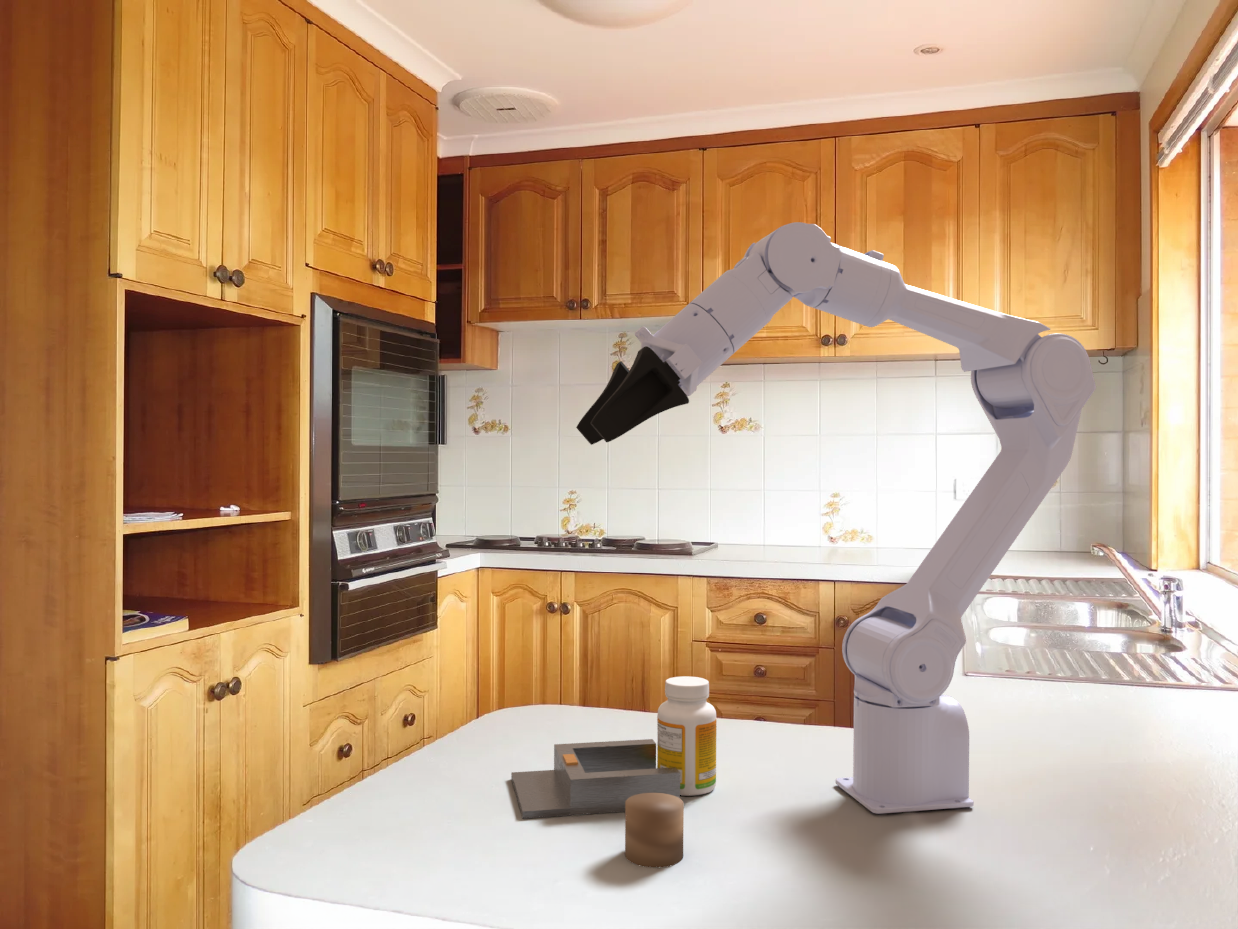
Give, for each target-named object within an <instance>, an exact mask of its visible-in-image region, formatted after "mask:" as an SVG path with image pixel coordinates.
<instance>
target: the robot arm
mask: <svg viewBox="0 0 1238 929" xmlns="http://www.w3.org/2000/svg"><path fill="white" fill-rule="evenodd" d="M831 240H832V238H831V236H829V235H827V234H826V233H825V231H824V230H823V229H822V228H821V227H820V226H818V225H817V224H816V223H807V222H806V223H805V222H799V221H798V222H791V223H787V224H784V225H781V226H780V227H778V228H776V229H775V230H774V231H772V232H771V233H769V234H768V235H766V236H764V237H762V238H761V239H760V240H759V241H756V242H752V243H751V245H750V246H749V247H748V248H747V249H746V251H745V253H744V256H743V257H742V258H741V259H740V260H739V261H738V262H736V264H735V265H734V267H733V268H732V269H727V270H726V271H725V272H723V273H722V274H721V275H720V276H719V277H717V279H715V280H714V281H713V282H712V283H711V284H710V285H708V286H707V287H706V288H705V289H704V290H703V291H702V292H700V293H699V294H698V295H697V296H696V297H695V298H693V299H692V300H691V301H690V302H688V304H687V305H686V306H684V307H683V308H682V309H681V310H680V311H678V312H677V313H676V314H675V315H674V316H673V317H671V319H669V321H667V322H666V323H665V324H664V325H663V326H661V327H660V328H659V329H658V330H657V331H656V332H655V333H654V334H652V333H651V331H649V329H648V328H647V327H645V325H644V326H640V327H639V328H638V329H637V330H636V331H635V332H634V335H635V337H636V339H637V340H638V341H639V342H640V344H641V345H640V349H639V350H638V351H637V354H636V356H635V358H634V360H633V363H632V365H631V367H630V368H628V367H627V366H626V365H625V364H624V362H623V361H622V360H621V361H619V362H617V363H616V364H615V367H614V369H613V372H612V374H611V376H610V379H609V381H608V383H607V384H606V386H605V388H604V390H603V391H602V392H601V394H600V395H599V396H598V397H597V399H596V401H594V403H593V404H592V405H591V407H590V408H589V409H588V410H587V411H586V412H585V414H584V415H583V416H582V418H581V419H580V420H579V422H578V424H577V425H576V427H575V428H576V429H577V431H578V432H579V433H580V434H581V435H582V436H583V437H584V439H585V440H586V441H587V442H588V444H590V445H591V446H592V445H594V444H596V443H599V442H601V441H605V443H610V442H612V441H614V440H615V439H617V438H619V437H622V436H623V435H625V434H626V433H628V432H630V431H631V430H633V429H634V428H636V427H637V426H639V425H640V424H642V423H644V422H646V421H647V420H648V419H652V418H653V417H654V416H656V415H659V414H660V413H664V412H665V411H667V410H670V409H673V408H675V407H680V406H683V405H688V404H689V403H690V398H689V397H690V396H691V395H692V394H694V393H695V392H696V391H697V388H698V386H699V385H701V383H703V382H704V380H706V379H707V378H709V377H710V375H712V374H713V373H714V372H715V371H716V370H717V369H718V368H719V367H721V366H722V365H723V364H724V363H725V362H727V360H728V359H729V358H730V357H732V356H733V355H734V354H735V353H736V352H737V351H738V350H740V349H741V347H743V346H744V345H745V344H747V343H748V341H749V340H751V339H752V338H753V337H754V336H755V335H756V334H758V333H759V332H760V331H761V330H762V329H764V327H766V325H768V324H769V323H770V322H771V321H772V319H773V317H774V316H775V315H776V313H778V312H779V311H781V309H782V308H783V307H785V305H787V304H788V303H789V302H790V301H791V300H792V299H793V298H795V299H796V300H798V301H799V302H801V303H802V304H803V305H805V306H807V307H809V308H812V309H816V310H819V311H821V312H825V313H827V314H830V315H833V316H835V317H838V318H841V319H844V320H848V321H850V322H853V323H856V324H857V325H863V326H865V327H868V328H875V327H877V326H879V325H881V324H883V323H885V322H886V321H887V320H890V321H892V322H894V323H896V324H900V325H901V326H904V327H906V328H909V329H911V330H914V331H916V332H917V333H918V332H919V333H921V334H924V335H926V336H928V337H931V338H933V339H936V340H938V341H940V342H942V343H945V344H948V345H949V346H950V345H951V346H952V347H955V348H957V349H958V352H959V361H960V367H961V370H962V371H963V372H964V373H965V372H970V384H971V387H972V391H973V393H974V395H975V398H976V399H977V401H978V403H979V405H980V406H981V409H982V410H983V412H984V413H985V416H986V417H987V419H988V421H989V423H990V425H991V426H992V429H993V431H994V432H995V434H996V436H997V438H998V440H999V444H1000V447H1001V449H1000V452H999V453H998V455H997V456H996V457H995V458H994V460H993V461H992V463H991V465H990V466H989V467H988V469H987V470H986V471H985V472H984V474H983V476H982V477H981V479H980V480H979V482H977V484H976V485H975V487H974V489H973V490H972V491H971V493H969V495H968V497H967V498H966V499H965V501H964V503H963V504H962V505H961V507H960V508H959V510H958V511H957V513H955V515H954V517H953V518H952V519H951V521H950V522H949V524H948V525H947V527H946V528H945V530H943V532H942V533H941V535H940V537H939V538H938V539H937V540H936V541H935V543H934V545H933V546H932V548H931V549H930V550H929V552H928V553H927V555H926V556H925V558H923V560H922V562H921V563H920V565H919V566H918V567H917V569H916V570H915V572H914V573H913V574H912V576H911V577H910V579H909V580H908V581H907V583H906V584H904V585H902V586H900V587H898V588H897V589H895V590H892V591H891V592H889V593H888V594H886V595H884V596H883V597H881V598H880V599H879V601H878V602H877V604H876V605H875V606H874V608H873V609H871V610H870V611H869V612H868V613H866V614H863V615H862V616H860V617H858V618H857V619H855V620H854V621H853V622H852V623H851V624H850V625H849V627H847V629H846V631H845V633H844V636H843V639H842V644H841V649H842V650H841V652H842V659H843V661H844V663H845V666H846V667H847V668H848V670H849V671H850V672H851V673H852V674H853V676H854V687H853V755H852V756H853V757H852V758H853V759H852V761H853V762H852V765H853V766H852V770H853V771H852V772H853V773H852V776H849V777H848V776H847V777H846V776H845V777H838V778H835V780H834V781H835V784H836V786H838V787H839V788H840V789H842V790H843V791H844V792H845V793H847V794H848V795H849V796H851V797H852V798H853V799H855V800H856V801H857V802H859V804H861V805H862V806H863V807H865V808H866V809H867V810H868V811H870V812H871V813H873V814H877V815H878V814H880V815H881V814H892V813H894V814H895V813H902V812H903V813H906V812H919V811H931V810H932V811H933V810H943V809H944V810H946V809H961V808H971V807H974V800H973V799H971V798H970V792H969V790H970V729H969V724H968V723H969V722H968V718H967V715H966V713H965V710H964V708H963V706H962V705H961V703H960V702H959V701H958V700H957V699H955V698H954V697H953V696H951V695H947V694H944V693H945V692H946V691H947V689H948V688H949V686H950V684H951V682H952V680H953V677H954V671H955V666H956V662H957V659H958V657H959V655H960V653H961V651H962V649H963V648H964V647H965V645H966V643H967V639H966V638H967V637H966V634H965V629H964V626H963V622H962V617H963V615H964V614H965V612H967V609H969V607H970V606H971V604H972V602H973V601H974V600H975V599H976V597H977V595H978V594H979V593H980V591H981V590H982V588H983V587H984V586H985V584H986V582H987V581H988V579H989V578H990V577H991V576H992V574H993V573H994V571H995V570H996V569H997V567H998V565H999V564H1000V562H1001V561H1002V560H1003V558H1004V557H1005V555H1006V554H1007V552H1008V551H1009V549H1010V548H1011V546H1012V545H1013V543H1014V542H1015V541H1016V540H1017V539H1018V536H1019V535H1020V534H1021V532H1022V531H1023V529H1024V528H1025V526H1026V525H1027V523H1028V522H1029V521H1030V519H1031V518H1032V517H1033V515H1034V514H1035V512H1036V511H1037V509H1038V507H1039V506H1040V505H1041V504H1042V502H1043V500H1044V499H1045V497H1046V496H1047V495H1048V493H1049V492H1050V491H1051V490H1052V488H1053V486H1054V485H1055V483H1056V482H1057V481H1058V479H1059V478H1060V476H1061V474H1063V472H1064V471H1065V469H1066V468H1067V466H1068V464H1069V463H1070V462H1071V461H1070V460H1071V458H1072V454H1073V451H1074V446H1075V442H1076V436H1077V432H1078V427H1079V423H1080V418H1081V413H1082V410H1083V408H1084V407H1085V406H1086V404H1087V402H1088V401H1089V399H1090V398H1091V397H1092V395H1093V394H1094V392H1095V391H1096V390H1097V385H1096V380H1095V377H1094V373H1093V368H1092V364H1091V360H1090V356H1089V354H1088V352H1087V350H1086V348H1085V347H1084V345H1083V344H1082V343H1081V342H1080V341H1079V340H1078V339H1076V338H1075V337H1073V336H1071V335H1068V334H1065V333H1062V332H1061V333H1058V332H1057V333H1050V334H1046V335H1044V336H1041V335H1040V333H1042V332H1045V331H1049V330H1051V328H1050V327H1048V326H1047V325H1046V324H1043V323H1042V322H1039V321H1036V320H1031V319H1026V318H1023V317H1018V316H1014V315H1011V314H1007V313H1003V312H999V311H996V310H993V309H989V308H985V307H983V306H979V305H975V304H972V303H968V302H966V301H962V300H958V299H956V298H952V297H948V296H946V295H943V294H939V293H936V292H932V291H929V290H925V289H922V288H919V287H916V286H912V285H908V284H906V283H905V281H904V278H903V277H902V274H901V272H900V270H899V268H898V267H897V266H896V265H894V264H891V263H889V262H886V261H884V256H885V255H884V253H882V252H879V251H876V250H873V249H871V250H869V251H867V252H865V253H862V252H858V251H856V250H853V249H850V248H848V247H846V246H845V247H844V246H841V245H839V244H837V243H834V242H831Z"/></svg>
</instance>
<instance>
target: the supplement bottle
mask: <svg viewBox="0 0 1238 929" xmlns="http://www.w3.org/2000/svg"><path fill="white" fill-rule="evenodd" d="M664 693H665V697H666V698H667V700H665V701H664V702H662V703H661V704H660V705H659V707H658V709H657V717H656V718H657V719H656V720H657V721H656V722H657V726H656V727H657V742H656V768H672V767H676V768H677V770H678V771H679V772H680V795H681V796H680V797H684V796H685V797H691V796H692V797H693V796H701V795H705V794H708V793H711V792H712V791H714V790H715V788H716V785H717V711H716V708H715V707H714V706H713V705H712V704H711V703H709V702H707V699H708V698H709V697H710V682H709V680H708V679H707V678H706V679H705V678H703V677H698V676H688V675H687V676H685V675H683V676H674V677H669V678H667V679H666V680H665V686H664Z"/></svg>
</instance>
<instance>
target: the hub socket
mask: <svg viewBox="0 0 1238 929" xmlns="http://www.w3.org/2000/svg"><path fill="white" fill-rule="evenodd" d="M553 747H554V748H553V749H554V750H553V762H554V763H553V769H550V770H549V769H547V770H546V769H545V770H533V771H532V770H531V771H529V770H528V771H513V772H512V771H511V782H512V786H513V790H514V793H515V795H516V796H515V797H516V799H517V804H518V807H519V811H520V814H521V818H522V819H536V818H551V817H553V818H554V817H565V816H566V817H567V816H579V815H580V816H581V815H593V814H594V815H595V814H597V815H598V814H609V813H610V814H611V813H623V812H624V813H625V802H626V800H627V799H628V798H629V797H631V796H634V795H637V794H642V793H664V794H669V795H673V796H676V797H678V798H680V799H681V796H680V772H679V771H678V770H677V768H676V767H672V768H657V742H655V740H654V739H653V738H650V739H649V738H646V739H645V738H644V739H632V740H631V739H629V740H627V739H626V740H611V741H610V740H609V741H608V740H607V741H595V742H593V741H591V742H576V743H575V742H574V743H573V742H572V743H559V744H558V743H557V744H556V743H555V744H554V745H553Z"/></svg>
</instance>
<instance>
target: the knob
mask: <svg viewBox="0 0 1238 929" xmlns="http://www.w3.org/2000/svg"><path fill="white" fill-rule="evenodd" d="M684 806H685V804H684V801H683V800H682V799H681V797H680V798H678V797H676V796H673V795H669V794H664V793H642V794H637V795H634V796H631V797H629V798H628V799H627V800H626V802H625V812H624V813H625V814H624V815H625V816H624V817H625V822H624V823H625V824H624V827H625V828H624V829H625V830H624V836H625V837H624V849H625V850H624V856H625V858H626V860H627V861H628V862H630V863H631V864H633V865H637V866H639V865H640V867H643V866H644V867H645V868H653V869H654V868H655V869H656V868H657V869H658V868H659V867H660V868H667V866H668V867H671V866H670V865H672V866H675V865H676V864H679V863H681V861H683V859H684V825H685V824H684V814H685V813H684V812H685V811H684V810H685V809H684V808H685V807H684ZM660 868H659V869H660Z"/></svg>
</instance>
